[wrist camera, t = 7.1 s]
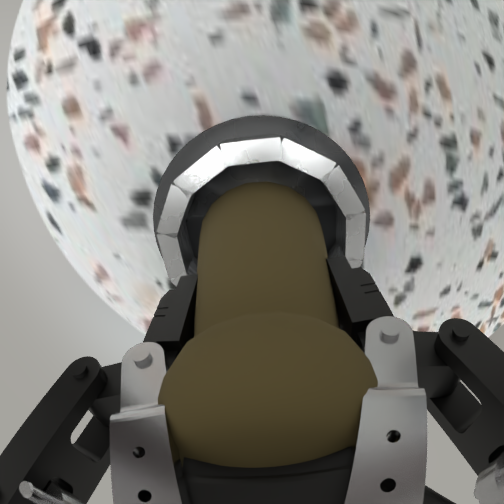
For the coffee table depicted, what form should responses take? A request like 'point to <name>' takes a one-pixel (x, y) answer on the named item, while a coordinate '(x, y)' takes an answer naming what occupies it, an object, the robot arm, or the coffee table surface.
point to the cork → (264, 340)
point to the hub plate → (259, 170)
